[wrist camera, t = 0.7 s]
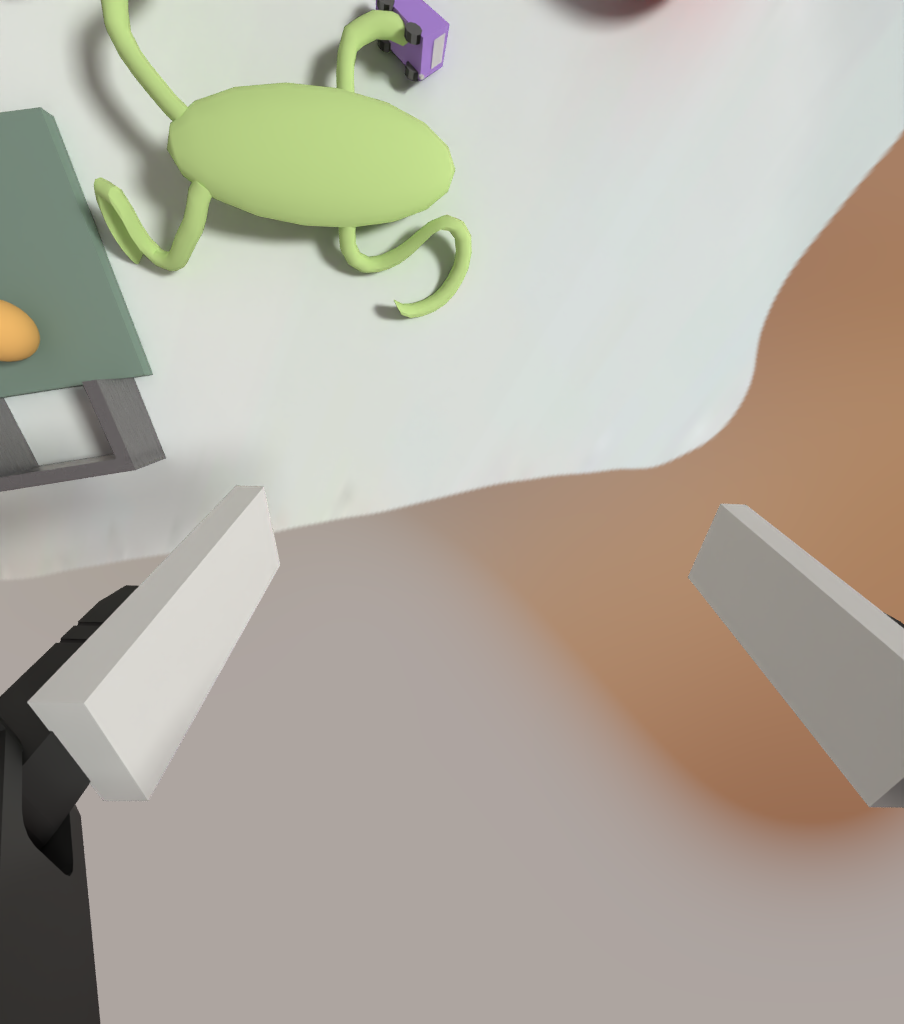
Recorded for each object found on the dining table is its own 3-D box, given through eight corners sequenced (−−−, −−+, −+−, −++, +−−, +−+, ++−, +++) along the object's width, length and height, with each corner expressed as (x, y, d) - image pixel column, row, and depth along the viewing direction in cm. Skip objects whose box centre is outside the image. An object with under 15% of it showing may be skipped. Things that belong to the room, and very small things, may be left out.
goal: (-10, 399, 32) (-67, 404, 28) (133, 377, 32) (96, 379, 28) (32, 479, 34) (-15, 494, 30) (165, 458, 34) (135, 470, 31)
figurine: (59, -107, 23) (-43, -242, 18) (506, 32, 27) (528, -47, 22) (94, 256, 29) (25, 233, 24) (456, 329, 33) (464, 323, 28)
